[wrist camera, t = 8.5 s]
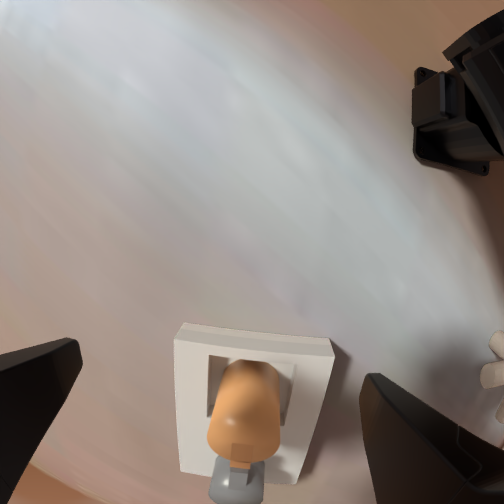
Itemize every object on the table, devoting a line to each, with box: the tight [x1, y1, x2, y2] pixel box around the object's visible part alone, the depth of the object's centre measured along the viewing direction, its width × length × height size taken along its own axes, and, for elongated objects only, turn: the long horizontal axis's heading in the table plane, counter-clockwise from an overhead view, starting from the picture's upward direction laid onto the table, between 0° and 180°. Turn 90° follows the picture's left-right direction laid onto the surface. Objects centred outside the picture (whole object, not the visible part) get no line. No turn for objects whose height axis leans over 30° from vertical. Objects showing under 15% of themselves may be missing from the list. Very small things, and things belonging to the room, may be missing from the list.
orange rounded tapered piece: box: [207, 359, 280, 469], centre depth 18 cm, size 4×5×6 cm
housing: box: [174, 322, 335, 504], centre depth 19 cm, size 10×14×6 cm
